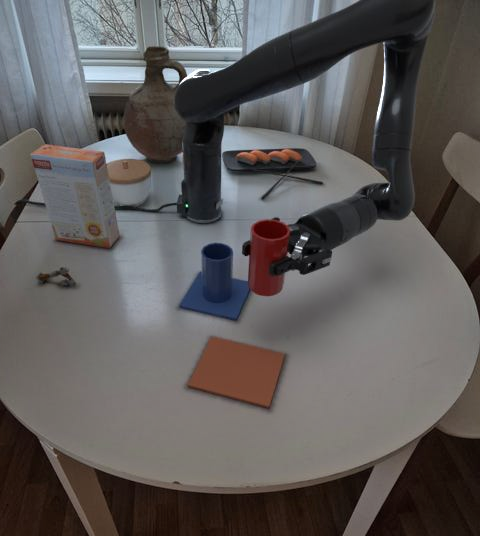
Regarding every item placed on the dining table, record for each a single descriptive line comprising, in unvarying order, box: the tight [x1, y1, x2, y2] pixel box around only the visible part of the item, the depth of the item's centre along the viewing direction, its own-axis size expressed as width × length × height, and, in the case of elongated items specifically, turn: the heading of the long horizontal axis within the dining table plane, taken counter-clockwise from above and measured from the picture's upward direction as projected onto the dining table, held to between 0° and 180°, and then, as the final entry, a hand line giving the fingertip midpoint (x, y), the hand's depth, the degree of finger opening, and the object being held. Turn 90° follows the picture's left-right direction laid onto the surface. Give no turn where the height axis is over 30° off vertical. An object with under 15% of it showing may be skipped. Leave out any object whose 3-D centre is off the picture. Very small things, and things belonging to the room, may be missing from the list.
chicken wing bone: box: [35, 266, 77, 287], centre depth 89 cm, size 2×8×4 cm, turn 78°
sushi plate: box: [221, 147, 324, 200], centre depth 131 cm, size 29×30×4 cm
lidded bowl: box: [106, 158, 152, 207], centre depth 113 cm, size 13×13×11 cm
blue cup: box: [200, 242, 234, 303], centre depth 86 cm, size 6×6×11 cm
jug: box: [122, 45, 188, 163], centre depth 128 cm, size 22×22×30 cm
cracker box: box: [29, 143, 120, 249], centre depth 96 cm, size 14×6×21 cm, turn 77°
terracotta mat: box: [187, 335, 286, 409], centre depth 75 cm, size 14×12×1 cm
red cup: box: [247, 218, 290, 297], centre depth 70 cm, size 6×6×11 cm
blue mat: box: [178, 270, 251, 321], centre depth 89 cm, size 12×12×1 cm
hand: (257, 260), depth 68 cm, fingers closed on red cup, 6 cm apart
